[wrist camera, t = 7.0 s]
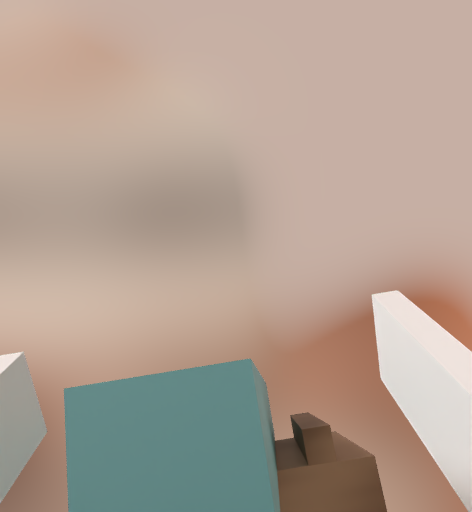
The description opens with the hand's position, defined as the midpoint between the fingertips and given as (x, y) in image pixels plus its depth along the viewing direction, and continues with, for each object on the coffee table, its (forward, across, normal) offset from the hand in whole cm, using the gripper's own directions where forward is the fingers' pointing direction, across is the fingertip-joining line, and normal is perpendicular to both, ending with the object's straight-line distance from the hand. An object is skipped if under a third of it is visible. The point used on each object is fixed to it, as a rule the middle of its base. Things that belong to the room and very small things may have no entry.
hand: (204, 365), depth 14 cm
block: (+4, 0, -6) cm, 7 cm away
